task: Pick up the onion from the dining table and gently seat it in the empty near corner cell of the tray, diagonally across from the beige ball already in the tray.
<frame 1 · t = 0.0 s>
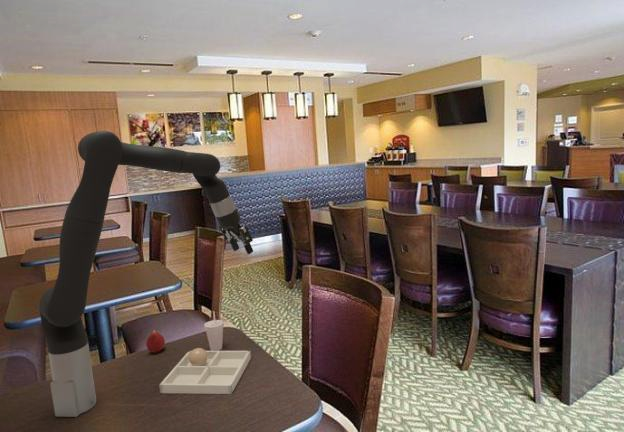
hand: (243, 251, 149), 31 cm above the table, tool tilted 20°, fingers open, 8 cm apart
beige ball: (199, 365, 132), point 1 cm above the table, touching tray
tray: (209, 376, 127), on the table
smoothie: (216, 351, 144), on the table
onion: (156, 353, 145), on the table
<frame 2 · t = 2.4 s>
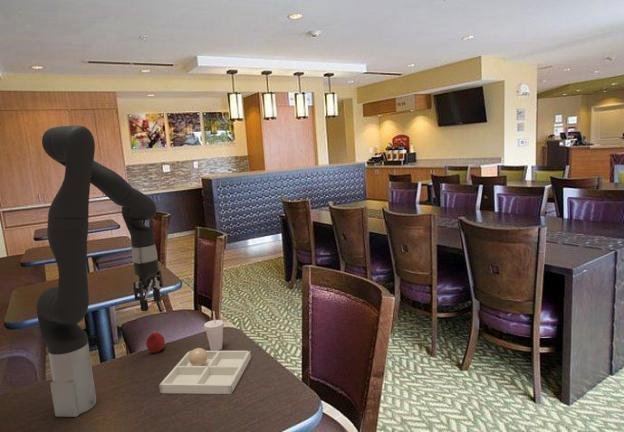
hand: (151, 306, 142), 17 cm above the table, tool pointing down, fingers open, 8 cm apart
nothing on the table moved.
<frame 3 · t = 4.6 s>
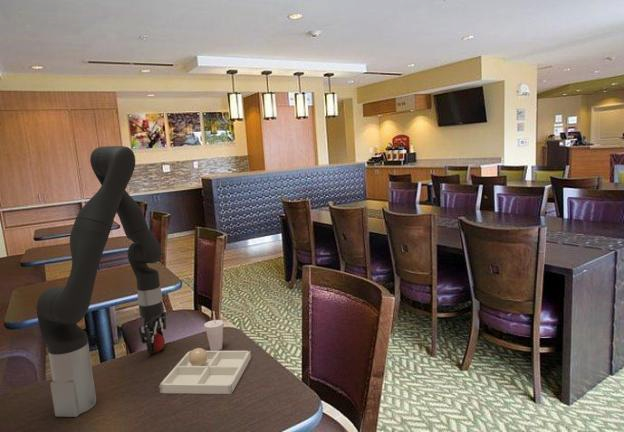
hand: (156, 348, 144), 2 cm above the table, tool pointing down, fingers closed on onion, 6 cm apart
onion: (156, 353, 145), on the table, touching gripper
everything else where it was.
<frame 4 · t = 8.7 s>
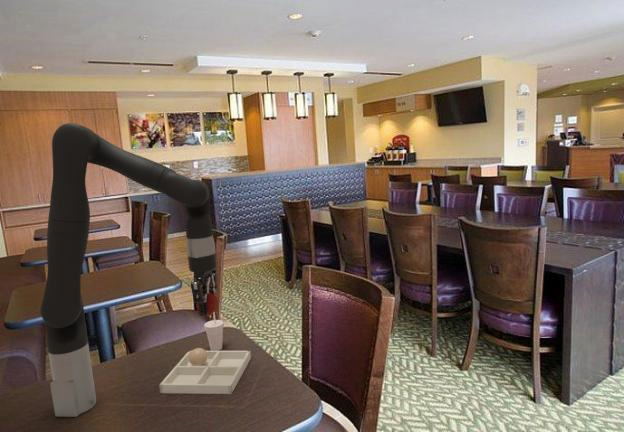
hand: (207, 310, 120), 22 cm above the table, tool pointing down, fingers closed on onion, 6 cm apart
onion: (208, 317, 121), point 20 cm above the table, touching gripper
everything else where it was.
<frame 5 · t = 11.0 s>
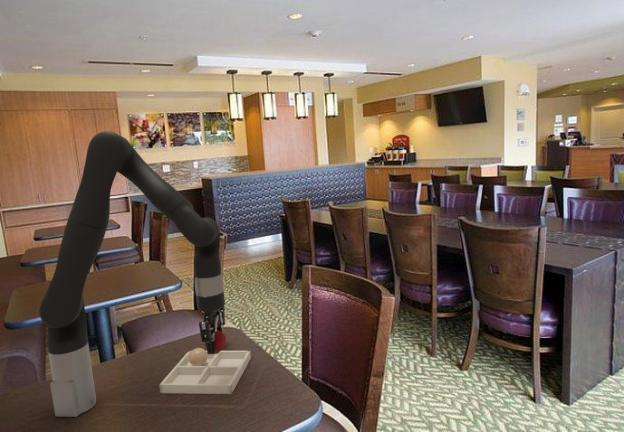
hand: (215, 348, 120), 11 cm above the table, tool pointing down, fingers closed on onion, 6 cm apart
onion: (216, 354, 120), point 9 cm above the table, touching gripper
everything else where it was.
when the fingers open (4 cm above the table, at t = 12.9 s): onion drops 2 cm, resting on tray.
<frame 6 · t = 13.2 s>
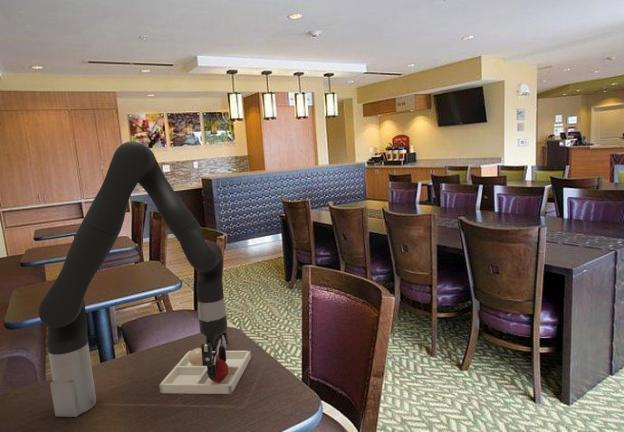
hand: (217, 369, 121), 5 cm above the table, tool pointing down, fingers open, 8 cm apart
onion: (219, 383, 122), point 1 cm above the table, touching tray
everything else where it was.
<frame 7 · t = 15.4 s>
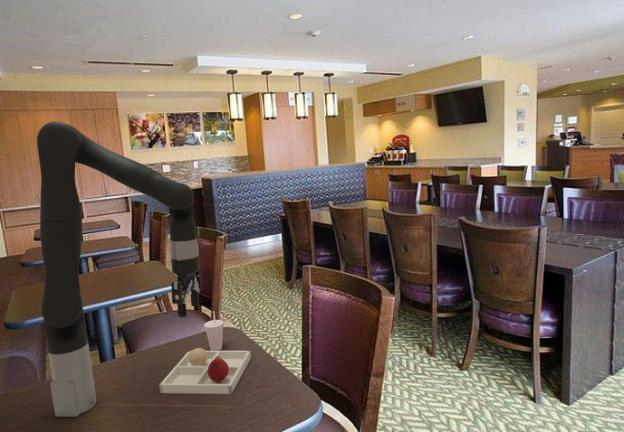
hand: (189, 311, 121), 22 cm above the table, tool pointing down, fingers open, 8 cm apart
nothing on the table moved.
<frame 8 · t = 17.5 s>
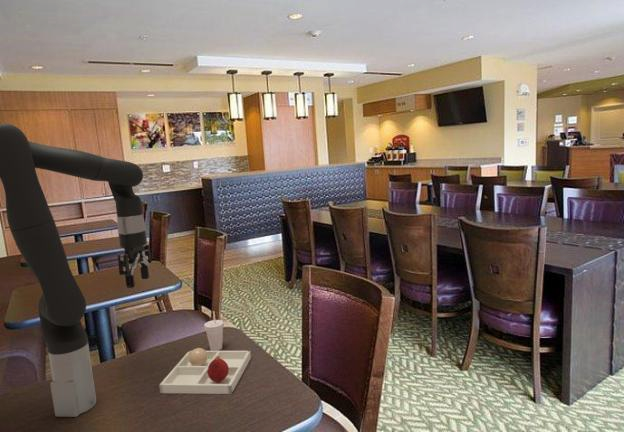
hand: (138, 282, 129), 28 cm above the table, tool pointing down, fingers open, 8 cm apart
nothing on the table moved.
at the end: onion inside the target area on the tray (0.3 cm from its centre), point 0.6 cm above the tray's base; the gripper is holding nothing; beige ball moved 0.0 cm from its start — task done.
